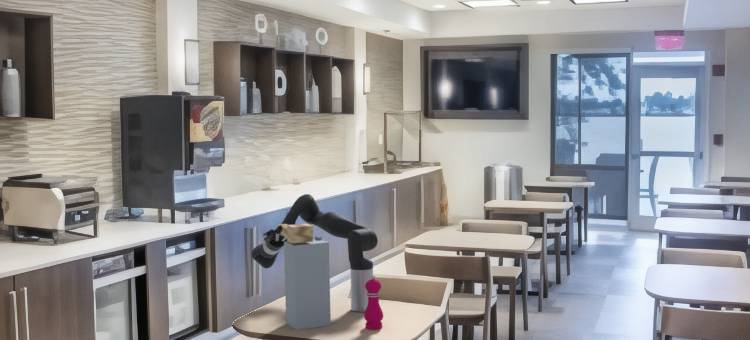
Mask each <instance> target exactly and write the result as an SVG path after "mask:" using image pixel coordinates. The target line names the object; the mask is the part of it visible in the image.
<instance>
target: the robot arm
mask: <svg viewBox="0 0 750 340" xmlns="http://www.w3.org/2000/svg"><path fill="white" fill-rule="evenodd" d="M299 216H300V218H301V220H302V221H304V222H306V223H307V224H310V225H312V226H313V225H314V226H315V227H318V228H319V229H320V230H321V229H322V230H323V231H324V232H325V233H328V234H329V235H331V236H333V237H337V238H341V239H346V240H347V252H348V262H349V266H350V267H349V268H350V309H351V311H353V312H357V313H363V312H364V313H365V310H366V308H367V305H368V296H367V292H368V291H367V290H366V288H365V284H366V282H367V281H368V280H370V279H371V276H372V275H374V263H373V261H372V260H370V259H369V258H365V256H364V252H369V251H372V250H375V248H376V247H377V245H378V242H379V240H378V236H377V234H376V233H375V232H374V230H373V229H371V228H368V227H366V226H362V225H360V224H358V223H356V222H354V221H352V220H351V219H348V218H346V217H344V216H343V215H341V214H339V213H337V212H335V211H327V212H324V211H322V210H321V208H320V207H319V206H318V204H317V202H316V200H315V198H314V197H313V195H311V194H301V196H299V197H298V198H297V199H296V200H295V201H294V203H293V204H292V205H291V208H290V209H289V210H288V212H287V214H286V216H285V217H284V219H283V220H282V222H281V223H280V224H287V225H295V224H296V222H297V221H298V218H299ZM281 231H282V225H280V226H279V227H277V226H276V228H274V229H272V228H271V229H269V230H268V231H266V232H265V233H263V234H262V236H263V243H260V244H258V245H256V246H255V247H254V248H253V249H252V251H251V253H250V254H251V256H250V257H252V260H254V261H255V262H256V263H258V264H259V265H260V266H261V267H262V268H264V269H270V268H272V267H273V265H274V264H275V261H276V259H277V257H278V255H279V253H280V251H281V249H282V248H284V242H285V241H287V238H286V237H284V236H282V235H279V234H280V233H281Z"/></svg>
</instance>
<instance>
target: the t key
mask: <svg viewBox="0 0 750 340" xmlns="http://www.w3.org/2000/svg"><path fill="white" fill-rule="evenodd" d="M280 225H282V231H281V233H280V234H279V235H282V236H284V237H286V238H287V241H289V242H291V243H303V242H313V239H314V226H313V224H311V223H299V224H296V223H295V225H287V224H281V223H279V224H278V223H277V224H276V228H277V227H279V226H280Z"/></svg>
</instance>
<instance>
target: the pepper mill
mask: <svg viewBox="0 0 750 340" xmlns="http://www.w3.org/2000/svg"><path fill="white" fill-rule="evenodd" d="M365 288H366V290H367V291H368V292H367V296H368V305H367V308H366V310H365V312H364V314H363V319H364V320H365V321H366V322H365V329H367V330H372V331H373V330H380V329H382V328H383V322H382V321H383V319H384V312H383V310H382V307H381V305H380V302H379V301H380V300H379V299H380V296H381V295H380V293H381V292H380V290H381V289H382V283H381V281H380V280H378V279H376V275H374V274H373V275H372V276H371V279H370V280H368V281H367V282H366V284H365Z"/></svg>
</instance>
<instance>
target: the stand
mask: <svg viewBox="0 0 750 340" xmlns="http://www.w3.org/2000/svg"><path fill="white" fill-rule="evenodd" d="M283 255H284V256H283V257H284V285H285V287H284V288H285V289H284V290H285V295H284V296H285V324H286V325H287V326H289V327H290V328H292V329H294V330H295V331H301V330H307V329H314V328H321V327H329V326H331V325H332V324H331V323H332V322H331V321H332V320H331V319H332V318H331V317H332V316H331V284H330V283H331V282H330V280H331V279H330V272H331V271H330V242H329V241H327V240H323V237H322V236H320V235H314V238H313V242H303V243H291V242H289V241H285V242H284V246H283Z"/></svg>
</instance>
